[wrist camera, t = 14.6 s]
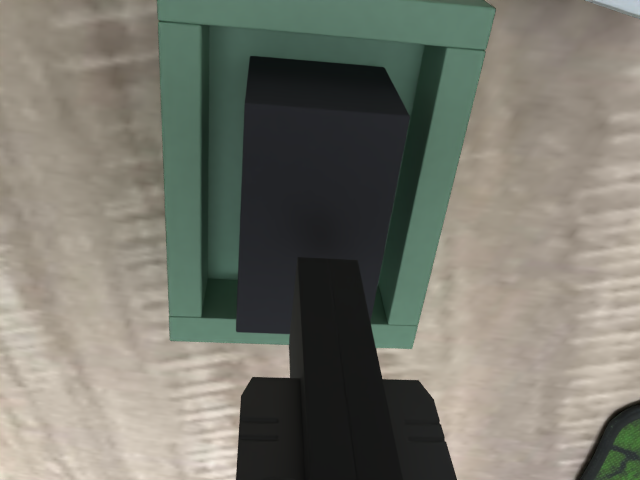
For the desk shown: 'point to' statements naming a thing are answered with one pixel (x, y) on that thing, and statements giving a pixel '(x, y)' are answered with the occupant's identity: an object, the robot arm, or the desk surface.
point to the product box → (621, 6)
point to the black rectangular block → (313, 178)
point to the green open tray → (228, 124)
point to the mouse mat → (618, 449)
